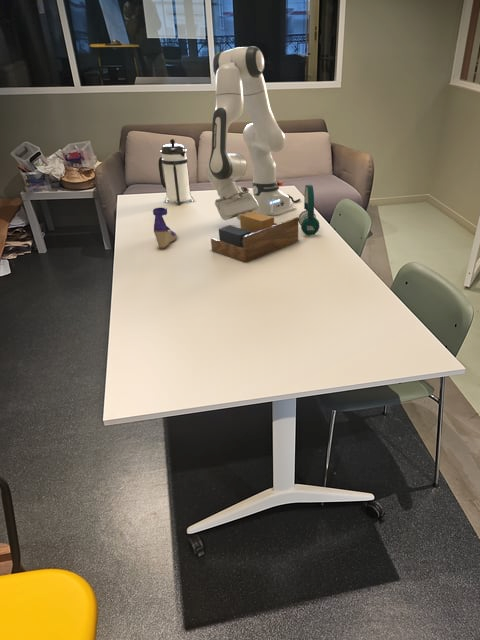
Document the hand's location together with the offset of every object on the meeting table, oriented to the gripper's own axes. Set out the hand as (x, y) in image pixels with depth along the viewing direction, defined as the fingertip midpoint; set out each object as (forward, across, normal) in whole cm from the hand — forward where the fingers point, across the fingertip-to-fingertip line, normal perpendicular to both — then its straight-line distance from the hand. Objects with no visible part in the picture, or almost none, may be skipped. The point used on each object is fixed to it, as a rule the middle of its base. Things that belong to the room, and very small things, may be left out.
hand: (247, 222), depth 219 cm
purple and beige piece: (-11, -29, +19) cm, 36 cm away
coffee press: (-43, +14, +51) cm, 68 cm away
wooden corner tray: (+12, -7, -5) cm, 15 cm away
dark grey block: (+11, -15, -4) cm, 19 cm away
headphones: (+16, +21, -8) cm, 28 cm away
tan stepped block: (+11, -2, -3) cm, 11 cm away
